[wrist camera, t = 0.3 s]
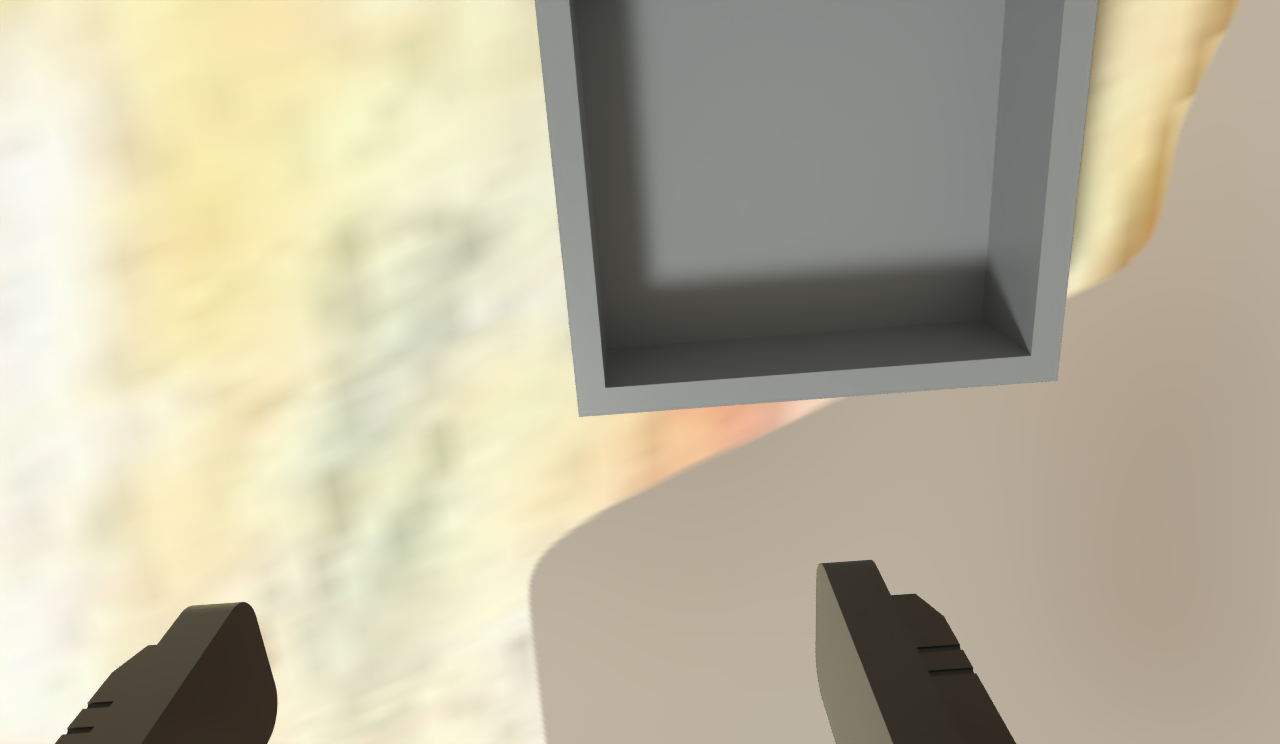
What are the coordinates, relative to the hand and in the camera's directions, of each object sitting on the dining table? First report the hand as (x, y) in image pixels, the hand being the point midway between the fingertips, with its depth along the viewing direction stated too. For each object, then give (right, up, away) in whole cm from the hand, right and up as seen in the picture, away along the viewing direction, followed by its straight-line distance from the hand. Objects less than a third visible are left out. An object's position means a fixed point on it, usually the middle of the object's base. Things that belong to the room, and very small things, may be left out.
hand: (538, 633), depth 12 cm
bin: (+8, +13, +26) cm, 30 cm away
